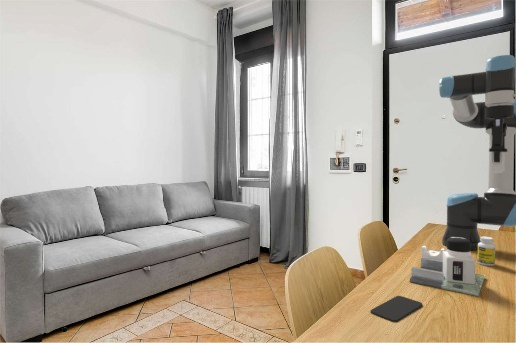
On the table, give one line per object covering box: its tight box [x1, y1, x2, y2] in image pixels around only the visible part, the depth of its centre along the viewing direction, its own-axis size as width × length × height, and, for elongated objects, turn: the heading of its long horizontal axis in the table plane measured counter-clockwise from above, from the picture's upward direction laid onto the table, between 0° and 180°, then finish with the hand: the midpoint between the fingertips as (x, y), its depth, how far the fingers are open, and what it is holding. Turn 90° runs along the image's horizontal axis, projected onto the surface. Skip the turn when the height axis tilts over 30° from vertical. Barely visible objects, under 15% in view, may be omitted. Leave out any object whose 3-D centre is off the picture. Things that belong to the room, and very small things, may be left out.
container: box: [443, 237, 476, 284], centre depth 106 cm, size 8×8×13 cm
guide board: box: [409, 257, 486, 297], centre depth 109 cm, size 18×18×4 cm
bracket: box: [421, 245, 446, 261], centre depth 124 cm, size 13×7×8 cm, turn 141°
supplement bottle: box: [476, 236, 496, 267], centre depth 124 cm, size 5×5×10 cm
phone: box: [370, 295, 423, 323], centre depth 89 cm, size 7×1×15 cm
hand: (498, 172), depth 108 cm, fingers open, 13 cm apart
